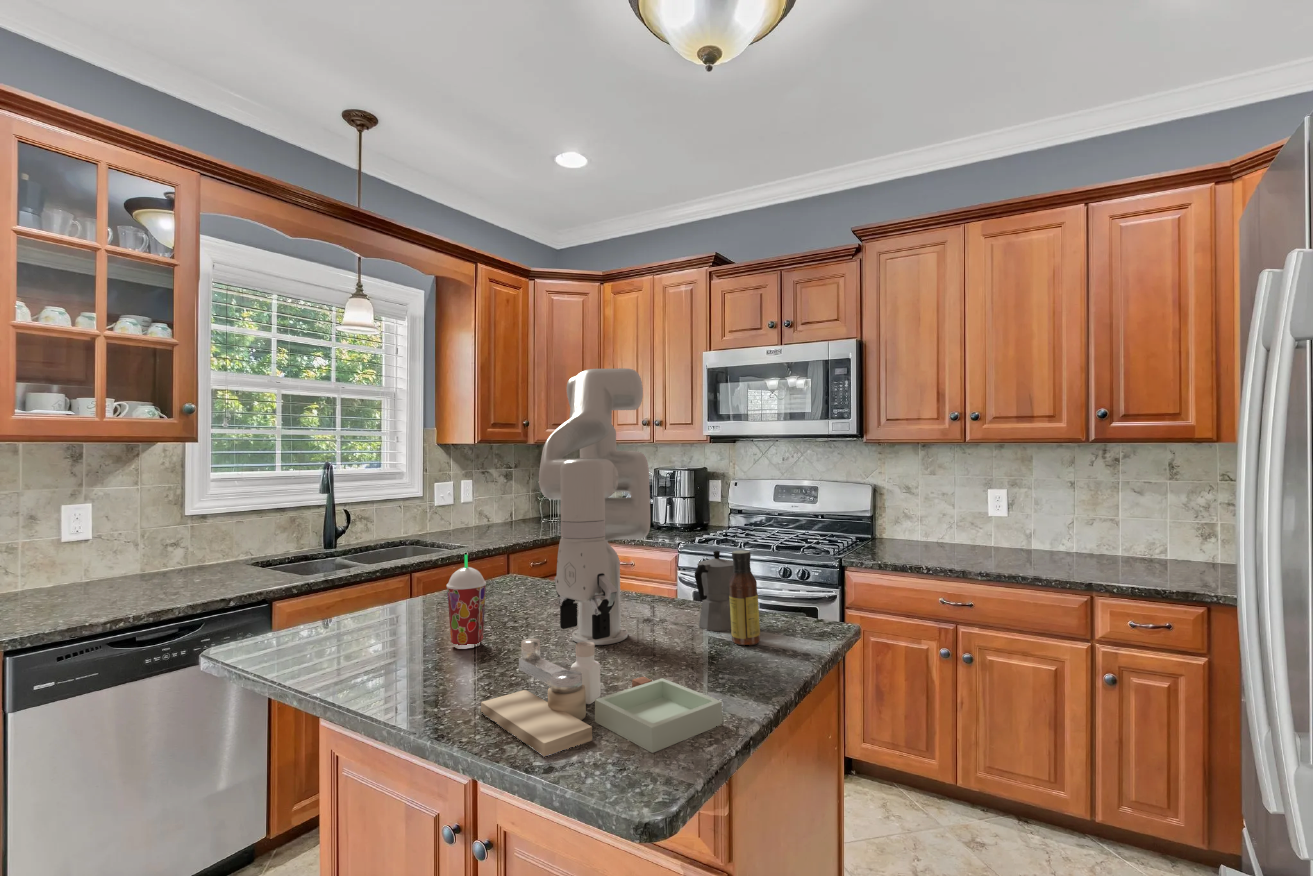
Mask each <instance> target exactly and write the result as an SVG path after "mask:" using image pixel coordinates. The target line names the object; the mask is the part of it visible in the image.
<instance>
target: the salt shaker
mask: <svg viewBox="0 0 1313 876" xmlns="http://www.w3.org/2000/svg"><path fill="white" fill-rule="evenodd" d="M595 646H596V645H595V644H594V643H593V642H586V641H585V642H579V643H577V642H576V644H575V657H576V658H575V659H576V661H575V662H574V663H572V665H571V666H570V670H576V671H579V672H581V673H582V684H583V685H584V686H585V695H586V705H591V704H593V703H595V699H598V698H601V695H602V694H601V693H602V692H601V664H600V662H598V661H597V660H595V653H596V651H595V649H596V648H595Z"/></svg>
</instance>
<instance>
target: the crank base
mask: <svg viewBox="0 0 1313 876" xmlns="http://www.w3.org/2000/svg"><path fill="white" fill-rule="evenodd" d="M652 681H653V680H652V679H650V678H648V677H645V676H640V677H637V678H633V679H632V680H631V688H633V687H636V686H639V685H642V684H645V683H649V682H652ZM586 706H587V704H586V695H585V686H584V685H583V684H582V689H581V690H579V691H577V692H573V693H567V694H561V693H555V692H553V691H551V686H549V687H548V689H547V700H544V699H543V698H541V697H539V696H537V695H536V694H534V693H532V692H530V691H528V690H527V689H522V690H519V691H515V692H512V693H508V694H505V695H501V696H498V697H494V698H490V699H487V700H483V701H480V711H481V712H483V713H484V714H485V715H487V716H488V717H490V719H492V720H494V721H495V722H497V724H499V725H500V726H502V727H503V728H504V729H506V730H507V731H509V732H510V733H512V734H513V735H515V736H517V738H519V739H521V740H522V741H523V742H525V743H526V744H528V745H530V746H531V747H533V748H534V749H535V750H536V751H538V752H539V753H541V754H542V755H543V756H546V755H549V754H553V753H556V752H558V751H561V750H564V749H567V750H570V749H571V748H570V747H573V748H575V746H576V745H578V746H580V744H581V745H584V744H587V743H590V742H592V741H593V726H592V725H589V724H588V723H587V722H584V721H582V720H584V718H586V716H587V712H586V711H587V707H586ZM481 712H480V713H481ZM576 747H577V746H576ZM569 748H570V749H569ZM556 754H557V753H556Z"/></svg>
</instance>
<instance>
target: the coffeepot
mask: <svg viewBox="0 0 1313 876" xmlns="http://www.w3.org/2000/svg"><path fill="white" fill-rule="evenodd" d="M720 554H721V551H719V550H714V551H713V557H714V558H710V559H706V560H700V561H699V562H698V563H697V567H696V569H695V572H694V580H695V583H696V587H697V591H698V595H699V599H700V601H702V602H701V609H700V616H699V620H698V621H699V622H698V626H699V628H701V629H702V628H703V629H702V630H704V629H707V630H706V631H708V630H712V631H711V632H727V630H729V631H731V617H730V599H729V594H730V591H729V580H730V578H731V576H732V574H733V559H732V560H731V559H723V558H720V556H721V555H720Z"/></svg>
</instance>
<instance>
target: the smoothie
mask: <svg viewBox="0 0 1313 876" xmlns="http://www.w3.org/2000/svg"><path fill="white" fill-rule="evenodd" d="M468 557H469V555H468V554H464V566H463V567H460V568H459V569H457V570H456V571H454V572H453V573H452V574H451V576H450V578H449V580H448V583H447V584H446V591H447V592H446V593H447V604H448V605H447V606H448V608H447V609H448V616H449V617H448V618H449V620H448V621H449V631H450V643H451V644H452V645H453V644H458V645H467V644H477V643H479V642H481V643H482V641H483V640H484V628H485V627H484V626H485V605H486V584H487V582H486V580H485V579H484V577H483V575H482V573H481V572H480V571H479V570H478V569H476V568H474V567H472V566H469V565H468V563H469V562H468Z"/></svg>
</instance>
